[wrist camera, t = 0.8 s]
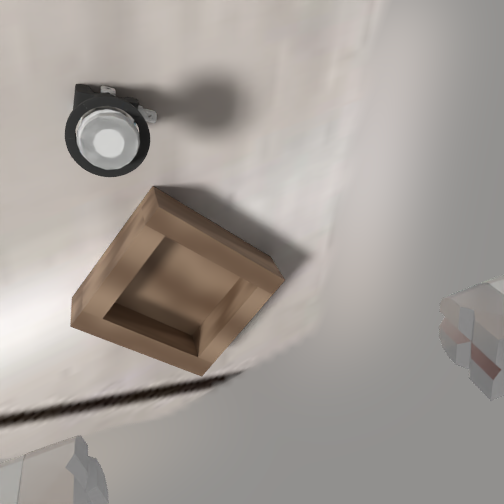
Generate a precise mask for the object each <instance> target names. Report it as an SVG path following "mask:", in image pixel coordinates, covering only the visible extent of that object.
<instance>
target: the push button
mask: <svg viewBox="0 0 504 504" xmlns="http://www.w3.org/2000/svg"><path fill="white" fill-rule="evenodd" d="M106 88H107V89H106ZM115 94H116V92H115V89H114V88H110V87H106V86H101V93H95V92H93V91H92V90H91V89H90V88H89V87H88V86H85V85H81V84H76V86H75V96H74V106H73V111H72V112H71V114H70V116H69V118H68V120H67V123H66V128H65V141H66V145H67V148H68V151H69V153H70V155H71V156H72V158H73V159H74V160H75V161H76V163H77V164H78V165H80V166H81V167H82V168H83V169H85V170H86V171H88V172H90V173H93V174H95V175H98V176H103V177H117V176H122V175H125V174H127V173H129V172H131V171H133V170H134V169H136V168H137V167H138V166H139V165H140V164H141V163H142V162H143V160H144V159H145V157H146V155H147V153H148V150H149V146H150V133H149V129H148V125H147V123H146V122H151V123H156V119H157V114H156V111H154V110H149V109H144V108H143V106H139V102H138V100H137V99H134V98H130V97H127V98H120V97H116V96H115ZM149 115H151V116H150V117H148V116H149ZM149 119H150V120H149ZM79 120H81V121H80V126H79V127H78V130H77V137H76V133H75V129H76V126H77V123H78V121H79ZM136 123H137V125H138V127H139V132H138V130H137V128H136V126H135V125H136Z"/></svg>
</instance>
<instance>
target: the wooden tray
mask: <svg viewBox="0 0 504 504" xmlns="http://www.w3.org/2000/svg"><path fill="white" fill-rule="evenodd" d="M284 281H285V279H284V277H283V276H282V274H281V273H280V271H279V269H278V268H277V266H276V265H275V263H274V261H273V260H272V258H271V257H270V256H268V255H267V254H265V253H263V252H262V251H260V250H258V249H257V248H255V247H253V246H252V245H250V244H248V243H247V242H245V241H243V240H242V239H240V238H238V237H237V236H235V235H233V234H232V233H230V232H228V231H227V230H225V229H223V228H222V227H220V226H219V225H217V224H215V223H214V222H212V221H210V220H209V219H207V218H205V217H204V216H202V215H200V214H199V213H197V212H195V211H194V210H192V209H190V208H189V207H187V206H185V205H184V204H182V203H180V202H179V201H177V200H175V199H174V198H172V197H171V196H169V195H167V194H166V193H164V192H162V191H161V190H159V189H157V188H156V187H154V186H152V188H151V189H150V191H149V192H148V193H147V195H146V196H145V197H144V199H143V200H142V202H141V203H140V204H139V206H138V207H137V209H136V210H135V211H134V213H133V214H132V215H131V217H130V218H129V220H128V221H127V222H126V224H125V225H124V226H123V228H122V229H121V231H120V232H119V233H118V235H117V236H116V238H115V239H114V240H113V242H112V243H111V244H110V246H109V247H108V249H107V250H106V251H105V253H104V254H103V255H102V257H101V258H100V260H99V261H98V262H97V264H96V265H95V267H94V268H93V269H92V271H91V272H90V273H89V275H88V276H87V278H86V279H85V280H84V282H83V283H82V285H81V286H80V287H79V289H78V290H77V291H76V293H75V294H74V296H73V297H72V307H71V327H73V328H76V329H78V330H81V331H84V332H86V333H89V334H91V335H94V336H97V337H99V338H102V339H105V340H107V341H110V342H112V343H115V344H118V345H120V346H123V347H126V348H128V349H131V350H134V351H136V352H139V353H141V354H144V355H147V356H149V357H152V358H155V359H157V360H160V361H163V362H165V363H168V364H170V365H173V366H176V367H178V368H181V369H184V370H186V371H189V372H192V373H194V374H197V375H199V376H203V375H204V373H205V372H206V371H207V370H208V369H209V368H210V366H211V365H212V364H213V363H214V362H215V361H216V360H217V358H218V357H219V356H220V355H221V354H222V353H223V351H224V350H225V349H226V348H227V347H228V346H229V344H230V343H231V342H232V341H233V340H234V339H235V338H236V336H237V335H238V334H239V333H240V332H241V331H242V329H243V328H244V327H245V326H246V325H247V324H248V322H249V321H250V320H251V319H252V318H253V317H254V316H255V314H256V313H257V312H258V311H259V310H260V309H261V307H262V306H263V305H264V304H265V303H266V302H267V300H268V299H269V298H270V297H271V296H272V295H273V294H274V292H275V291H276V290H277V289H278V288H279V287H280V285H281V284H282V283H283V282H284Z"/></svg>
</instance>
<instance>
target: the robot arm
mask: <svg viewBox="0 0 504 504" xmlns="http://www.w3.org/2000/svg"><path fill="white" fill-rule="evenodd" d="M440 312H441V313H442V314H443V315H444V316H445V318H444V319H443V321H442V322H441V324H440V325H439V338H440V341H441V344H442V347H443V349H444V350H445V352H446V353H447V355H448V357H449V358H450V359H451V360H452V361H453V362H454V363H455V364H456V365H458V366H461V367H464V368H467V369H469V379H470V380H471V381H472V382H473V383H474V384H475V385H476V386H477V387H478V388H479V389H480V390H481V391H482V392H483V393H484V394H485V395H486V396H487V398H488V399H490V401H492V400H494V399H497V398H499V397H502V396H504V275H500V276H498V277H495V278H492V279H490V280H487V281H485V282H482V283H479V284H476V285H474V286H471V287H469V288H466V289H464V290H461V291H458V292H456V293H453V294H451V295H448V296H446V297H443V299H442V300H441V302H440ZM0 504H109V501H108V489H107V484H106V480H105V475H104V473H103V470H102V468H101V465H100V464H99V462H98V461H97V459H96V458H93V457H90V456H88V445H87V443H86V442H85V441H84V439H83V438H82V436H75V437H72V438H69V439H66V440H63V441H61V442H58V443H55V444H52V445H49V446H46V447H43V448H41V449H38V450H35V451H32V452H29V453H27V454H25V455H22V456H19V457H16V458H13V459H10V460H8V461H5V462H2V463H0Z"/></svg>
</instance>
